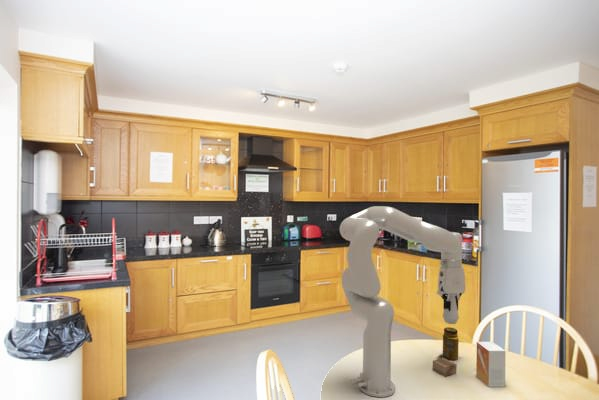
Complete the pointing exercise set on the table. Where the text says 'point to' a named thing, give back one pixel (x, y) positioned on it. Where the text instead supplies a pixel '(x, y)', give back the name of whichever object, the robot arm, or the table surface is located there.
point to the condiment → (450, 345)
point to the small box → (490, 364)
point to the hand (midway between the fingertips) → (450, 309)
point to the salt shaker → (451, 311)
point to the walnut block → (444, 367)
